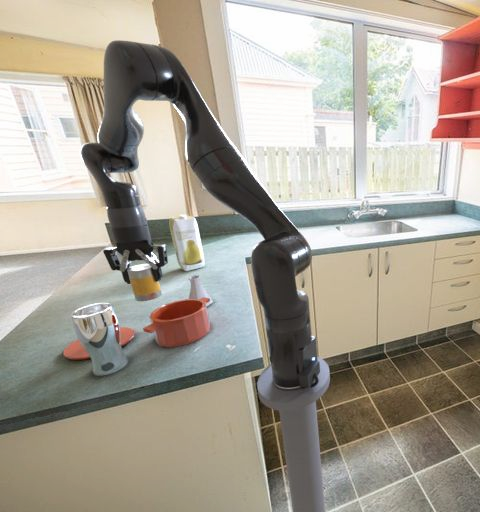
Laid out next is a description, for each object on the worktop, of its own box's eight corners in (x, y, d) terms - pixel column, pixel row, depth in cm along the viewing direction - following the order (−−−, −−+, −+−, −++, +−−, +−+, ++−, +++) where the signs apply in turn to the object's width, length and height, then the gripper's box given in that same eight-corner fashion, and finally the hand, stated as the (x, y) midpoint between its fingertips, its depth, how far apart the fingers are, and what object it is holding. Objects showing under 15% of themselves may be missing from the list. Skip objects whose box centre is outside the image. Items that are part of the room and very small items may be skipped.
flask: (201, 298, 103) (196, 271, 100) (217, 301, 101) (212, 274, 98) (182, 307, 96) (175, 279, 93) (198, 311, 94) (192, 282, 91)
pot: (227, 320, 89) (223, 297, 87) (172, 356, 72) (166, 330, 70) (193, 314, 92) (189, 293, 90) (134, 348, 76) (126, 322, 73)
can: (167, 293, 87) (159, 264, 84) (146, 302, 81) (137, 272, 78) (151, 291, 88) (143, 262, 85) (129, 300, 83) (120, 270, 80)
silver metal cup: (103, 359, 71) (84, 304, 67) (136, 355, 73) (120, 301, 68) (82, 379, 65) (60, 319, 60) (119, 374, 66) (100, 315, 62)
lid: (147, 334, 82) (142, 315, 80) (90, 366, 69) (82, 343, 67) (111, 327, 85) (105, 308, 83) (50, 356, 72) (41, 334, 71)
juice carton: (184, 272, 127) (171, 217, 119) (177, 268, 131) (165, 215, 124) (207, 266, 133) (197, 214, 126) (200, 263, 138) (190, 212, 131)
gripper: (86, 228, 73) (106, 290, 78) (153, 224, 76) (168, 284, 82) (105, 222, 80) (122, 279, 85) (166, 219, 83) (179, 274, 88)
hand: (144, 281), depth 83 cm, fingers closed on can, 6 cm apart
